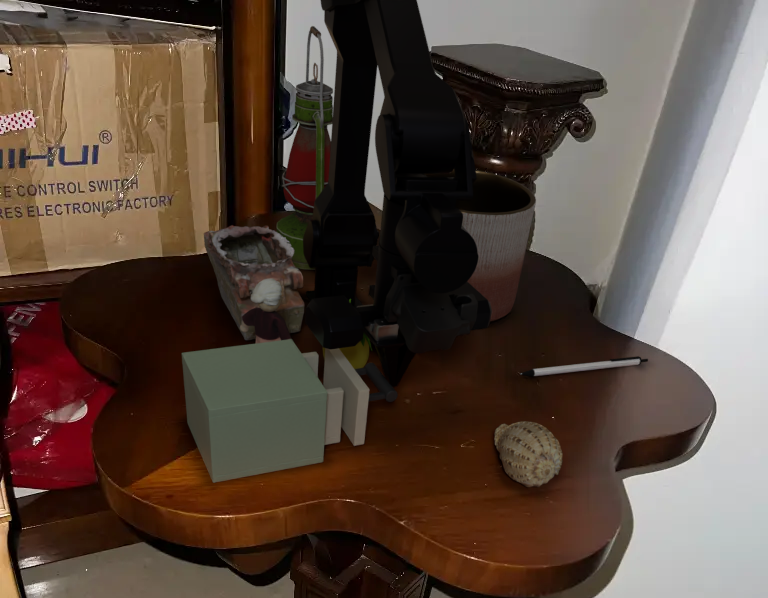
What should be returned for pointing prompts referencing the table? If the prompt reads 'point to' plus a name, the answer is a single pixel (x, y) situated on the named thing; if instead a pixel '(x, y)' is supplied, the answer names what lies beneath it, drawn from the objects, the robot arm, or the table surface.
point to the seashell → (528, 452)
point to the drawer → (348, 395)
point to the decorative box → (255, 271)
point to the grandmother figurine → (266, 313)
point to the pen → (586, 366)
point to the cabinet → (254, 408)
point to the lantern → (307, 156)
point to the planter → (497, 235)
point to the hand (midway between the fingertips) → (391, 385)
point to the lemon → (356, 352)
